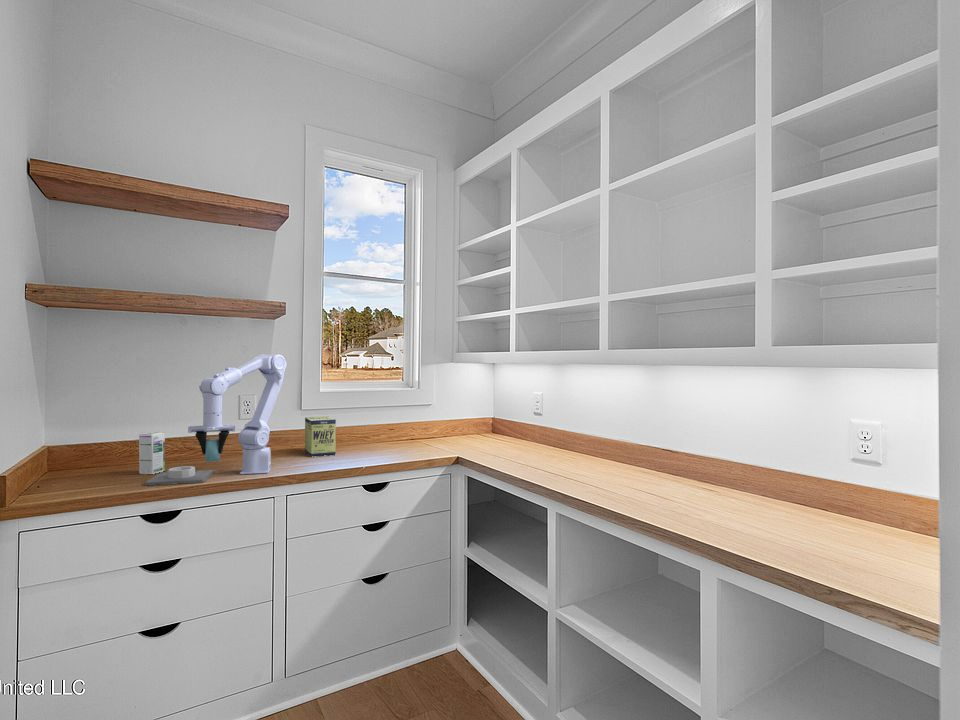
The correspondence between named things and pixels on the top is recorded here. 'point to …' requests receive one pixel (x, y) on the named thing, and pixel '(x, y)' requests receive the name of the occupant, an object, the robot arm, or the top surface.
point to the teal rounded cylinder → (212, 450)
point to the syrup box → (151, 453)
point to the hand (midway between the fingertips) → (212, 453)
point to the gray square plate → (180, 476)
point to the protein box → (320, 436)
